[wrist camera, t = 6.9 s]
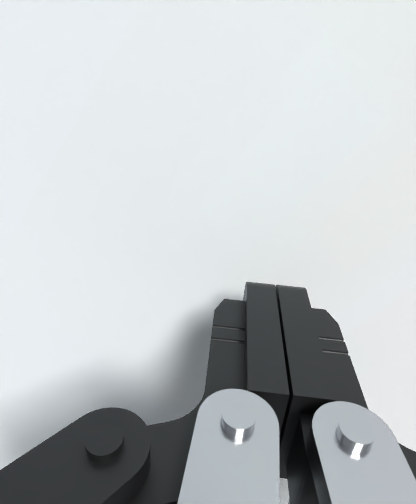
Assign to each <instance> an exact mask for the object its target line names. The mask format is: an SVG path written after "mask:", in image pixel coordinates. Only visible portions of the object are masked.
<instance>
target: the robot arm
mask: <svg viewBox="0 0 416 504" xmlns="http://www.w3.org/2000/svg"><path fill="white" fill-rule="evenodd" d="M343 340H344V339H343V336H342V333H341V330H340V327H339V325H338V323H337V322H336V321H335V320H334V319H333V318H332V316H331V315H330V314H329V313H328V312H327V311H326V310H324V309H315V308H311V305H310V302H309V298H308V294H307V290H306V288H302V287H292V286H283V285H276V286H275V285H272V284H263V283H253V282H246V285H245V291H244V298H243V301H239V300H230V299H224V300H223V301H222V302H221V303H220V305H219V306H218V307H217V308H216V309H215V311H214V319H213V328H212V336H211V344H210V353H209V361H208V370H207V378H206V386H205V392H204V396H203V398H202V400H201V402H200V403H199V405H198V406H197V407H196V408H195V409H194V410H193V411H191V412H190V413H189V414H187V415H186V416H184V417H182V418H179V419H177V420H174V421H170V422H165V423H160V424H154V425H149V426H146V424H145V423H144V421H143V420H142V419H141V418H140V417H139V416H137V415H136V414H135V413H133V412H131V411H128V410H125V409H121V408H103V409H99V410H95V411H93V412H90V413H88V414H86V415H84V416H82V417H81V418H79V419H78V420H76V421H75V422H73V423H71V424H70V425H68V426H67V427H65V428H64V429H62V430H61V431H59V432H58V433H56V434H55V435H53V436H52V437H50V438H49V439H47V440H45V441H44V442H42V443H41V444H39V445H38V446H36V447H35V448H33V449H32V450H30V451H29V452H27V453H26V454H24V455H23V456H21V457H19V458H18V459H16V460H15V461H13V462H12V463H10V464H9V465H7V466H6V467H4V468H3V469H1V470H0V504H280V478H286V479H288V488H289V502H288V504H416V452H415V451H412V450H410V449H408V448H406V447H404V446H403V445H401V444H399V443H398V442H397V440H396V437H395V436H394V434H393V432H392V431H391V429H390V428H389V427H388V425H387V424H386V423H385V422H384V421H383V420H382V419H381V418H380V417H378V416H377V415H376V414H374V413H373V412H371V411H370V410H368V407H367V404H366V402H365V399H364V396H363V393H362V390H361V387H360V384H359V382H358V379H357V376H356V373H355V370H354V367H353V365H352V362H351V359H350V356H348V350H347V347H346V345H345V342H343Z"/></svg>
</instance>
